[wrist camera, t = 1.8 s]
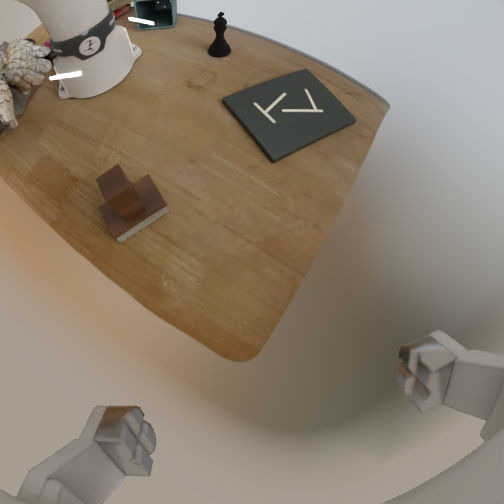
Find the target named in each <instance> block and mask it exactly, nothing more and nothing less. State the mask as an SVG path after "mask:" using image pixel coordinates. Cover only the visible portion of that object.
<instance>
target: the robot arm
mask: <svg viewBox="0 0 504 504" xmlns="http://www.w3.org/2000/svg"><path fill="white" fill-rule="evenodd" d="M13 1H18V2H21V3H23V4H26V5H27V6H29V7H30V8H31V9H33V10H34V11H35V13H36V14H37V15H38V17H39V18H40V20H41V22H42V23H43V25H44V27H45V29H46V30H47V32H48V34H49V36H50V44H51V48H52V50H53V52H52V53H51V54H50V56H51V58H52V59H49V61H53V63H54V65H53V67H54V70H55V72H56V74H57V75H56V76H50V77H49V78H50V80H55V79H59V93H58V95H59V97H60V99H67V98H70V97H74V98H89V97H93V96H96V95H99V94H101V93H103V92H105V91H107V90H109V89H111V88H112V87H114V86H115V85H117V84H118V83H119V82H121V81H122V80H123V79H124V78H125V77H126V76H127V75H128V73H129V72H130V70H131V69H132V66H133V64H134V62H135V61H136V60H137V59H138V58H139V57H140V56H141V54H142V51H141V49H140V48H139V47H137V46H135V45H134V44H132V43H131V42H130V39H129V36H128V33H127V30H126V28H123V27H122V26H120V25H116V21H115V16H114V13H113V12H112V9H111V8H110V7H109V6H108V3H107V0H13ZM129 20H130V21H136V22H141V23H145V24H150V25H154V22H152V21H148V20H143V19H137V18H132V17H129ZM25 40H28V41H30V42H31V43H34V44H35V41H34V40H33V39H25ZM399 358H400V359H401V361H402V362H401V364H400V365H399V367H398V370H397V379H398V383H399V386H400V388H401V389H402V391H403V392H404V393H405V394H408V395H411V396H412V403H413V404H414V405H415V407H416V408H417V409H418V410H419V412H420V413H421V414H423V413H425V412H427V411H429V410H431V409H433V408H434V407H436V406H438V405H440V404H442V403H443V405H445V406H448V407H450V408H453V409H456V410H458V411H461V412H463V413H466V414H469V415H472V416H474V417H477V418H480V419H483V420H486V423H485V425H484V427H483V429H482V430H481V434H480V436H481V437H482V438H483V439H484V440H485V442H484V443H483V444H482V445H480V446H479V447H478V448H477V449H475V450H474V451H472V452H471V453H470V454H468V455H467V456H466V457H464V458H463V459H462V460H460V461H458V462H457V463H455V464H454V465H452V466H451V467H449V468H448V469H446V470H445V471H443V472H441V473H440V474H438V475H437V476H435V477H433V478H431V479H430V480H428V481H426V482H424V483H423V484H421V485H419V486H417V487H415V488H413V489H411V490H410V491H408V492H406V493H404V494H402V495H399V496H397V497H395V498H393V499H391V500H389V501H386V502H384V503H382V504H504V354H498V353H491V352H485V351H478V350H471V351H468V350H467V349H465V348H464V347H463V346H461V345H460V344H459V343H457V342H456V341H455V340H454V339H452V338H451V337H449V336H448V335H447V334H445V333H444V332H443V331H440V330H437V331H435V332H433V333H431V334H429V335H427V336H425V337H423V338H421V339H418V340H416V341H414V342H412V343H409V344H407V345H405V346H402V347H401V349H400V351H399ZM143 417H144V413H143V412H142V410H141V409H140V407H138V406H96V407H94V409H93V411H92V413H91V415H90V417H89V419H88V421H87V423H86V425H85V427H84V429H83V431H82V433H81V435H80V437H79V439H74V440H73V441H71V442H70V443H69V444H67V445H66V446H64V447H63V448H62V449H60V450H59V451H57V452H56V453H54V454H53V455H51V456H50V457H49V458H47V459H46V460H44V461H43V462H41V463H40V464H38V465H37V466H35V467H34V468H32V469H31V470H29V472H28V474H27V476H26V478H25V480H24V482H23V484H22V486H21V488H20V490H19V492H18V495H17V497H14V496H12V495H10V494H8V493H6V492H5V491H3V490H1V489H0V504H102V503H103V502H104V501H105V500H106V499H107V498H108V497H109V496H110V495H111V494H112V492H113V491H114V490H115V489H116V488H117V487H118V486H119V485H120V484H121V482H122V481H123V480H124V479H125V478H126V475H128V476H150V474H151V468H152V462H153V460H152V458H151V457H150V454H152V453H153V452H154V451H155V447H156V437H155V433H154V430H153V428H152V426H151V425H150V423H148V422H146V421H145V420H143Z"/></svg>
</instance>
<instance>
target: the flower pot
mask: <svg viewBox="0 0 504 504" xmlns="http://www.w3.org/2000/svg"><path fill="white" fill-rule="evenodd" d="M157 2H159V3H157ZM164 6H166V7H165V8H164ZM134 8H135V14H136V18H137V19H143V20H148V21H152V22H154V25H150V24H145V23H141V22H137V28H138V30H139V31H141V30H148V29H157V28H171V27H174V26H175V23H176V20H177V4H176V0H171V2H170V0H135V1H134Z"/></svg>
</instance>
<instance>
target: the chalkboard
mask: <svg viewBox="0 0 504 504" xmlns="http://www.w3.org/2000/svg"><path fill="white" fill-rule="evenodd" d="M223 103H224V104H225V105H226V107H227V108H228V109H229V110H230V111H231V112H232V114H233V115H234V116H235V117H236V118H237V120H238V121H239V122H240V123H241V124H242V126H243V127H244V128H245V129H246V130H247V132H248V133H249V134H250V135H251V136H252V138H253V139H254V140H255V141H256V143H257V144H258V145H259V146H260V148H261V149H262V150H263V151H264V153H265V154H266V155H267V156H268V158H269V159H270V160H271V162H272V163H274V162H276V161H278V160H280V159H282V158H284V157H286V156H287V155H289V154H291V153H293V152H295V151H297V150H299V149H301V148H303V147H305V146H307V145H309V144H311V143H313V142H315V141H317V140H319V139H321V138H323V137H325V136H328V135H330V134H332V133H334V132H336V131H338V130H340V129H342V128H344V127H347V126H349V125H351V124H353V123H355V121H356V119H355V118H354V116H353V115H352V114H351V113H350V112H349V111H348V110H347V109H346V108H345V107H344V106H343V104H342V103H341V102H340V101H339V100H338V99H337V98H336V97H335V96H334V95H333V94H332V93H331V92H330V91H329V90H328V89H327V88H326V87H325V86H324V85H323V84H322V83H321V82H320V81H319V80H318V79H317V78H316V77H315V76H314V75H313V74H311V73H310V72H309V71H308V70H307V69H304V70H301V71H297V72H294V73H291V74H287V75H284V76H281V77H278V78H275V79H272V80H269V81H266V82H264V83H261V84H258V85H255V86H253V87H250V88H247V89H245V90H242V91H240V92H237V93H235V94H232V95H230V96H227V97H225V98H223Z"/></svg>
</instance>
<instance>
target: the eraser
mask: <svg viewBox="0 0 504 504" xmlns="http://www.w3.org/2000/svg"><path fill="white" fill-rule="evenodd" d="M96 181H97V183H98V185H99V187H100V190H101V192H102V194H103V196H104V198H105V201H106V203H104V204H103V205H101V206H100V207H99V208H100V210H101V213H102V215H103V217H104V219H105V221H106V223H107V225H108V228H109V230H110V232H111V234H112V236H113V238H115V239H117V240H118V241H119V242H123V241H124V240H126V239H127V238H129V237H130V236H132V235H133V234H135V233H136V232H138V231H139V230H141V229H142V228H144V227H145V226H147V225H148V224H150V223H151V222H153V221H155V220H156V219H158V218H159V217H161V216H162V215H164V214H166V213H167V212H169V209H168V207H167V205H166V203H165V201H164V200H163V198H162V196H161V195H160V193H159V191H158V189H157V188H156V186H155V184H154V183H153V181H152V179H151V177H150V176H149V175H147V176H145V177H144V178H142V179H141V180H139V181H137V182H136V183H134V184H133V185H132V184H131V182H130V181H129V179H128V178H127V176H126V175H125V173H124V172H123V170H122V169H121V167H120V166H119V165H118V164H117V165H116V166H114V167H113V168H111V169H110V170H108V171H107V172H105V173H104V174H102V175H101V176H99V177H98V178H96Z"/></svg>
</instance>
